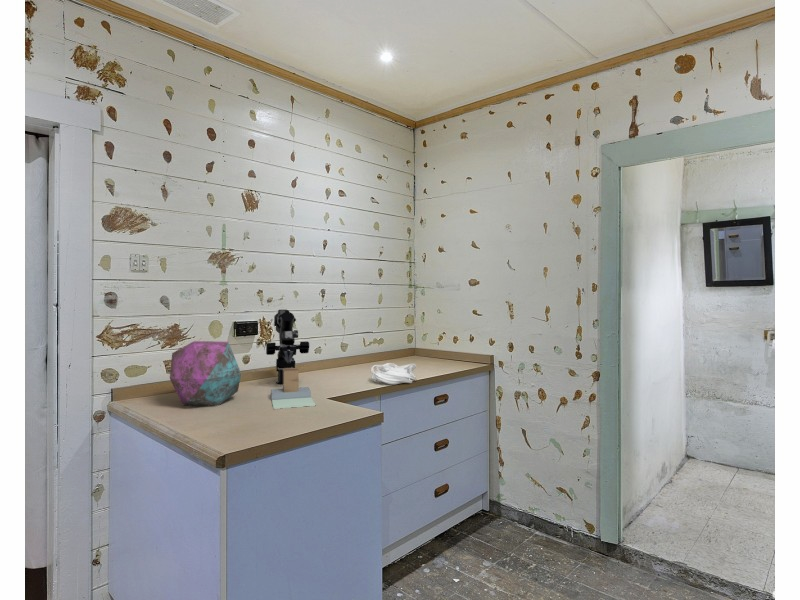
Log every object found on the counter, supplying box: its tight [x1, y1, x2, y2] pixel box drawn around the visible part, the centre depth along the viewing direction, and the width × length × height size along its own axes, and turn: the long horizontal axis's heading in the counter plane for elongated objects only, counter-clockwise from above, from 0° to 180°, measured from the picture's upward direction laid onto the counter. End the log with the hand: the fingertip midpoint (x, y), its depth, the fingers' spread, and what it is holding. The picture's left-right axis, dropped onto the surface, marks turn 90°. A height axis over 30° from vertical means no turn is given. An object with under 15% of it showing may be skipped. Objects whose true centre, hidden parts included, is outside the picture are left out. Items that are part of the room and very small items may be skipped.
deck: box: [270, 386, 312, 401], centre depth 204 cm, size 9×16×3 cm, turn 108°
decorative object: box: [169, 340, 242, 407], centre depth 195 cm, size 30×30×30 cm
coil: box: [370, 362, 418, 385], centre depth 239 cm, size 25×24×9 cm
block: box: [282, 367, 300, 392], centre depth 203 cm, size 6×6×9 cm
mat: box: [271, 396, 316, 410], centre depth 193 cm, size 14×16×1 cm
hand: (289, 363), depth 210 cm, fingers closed
